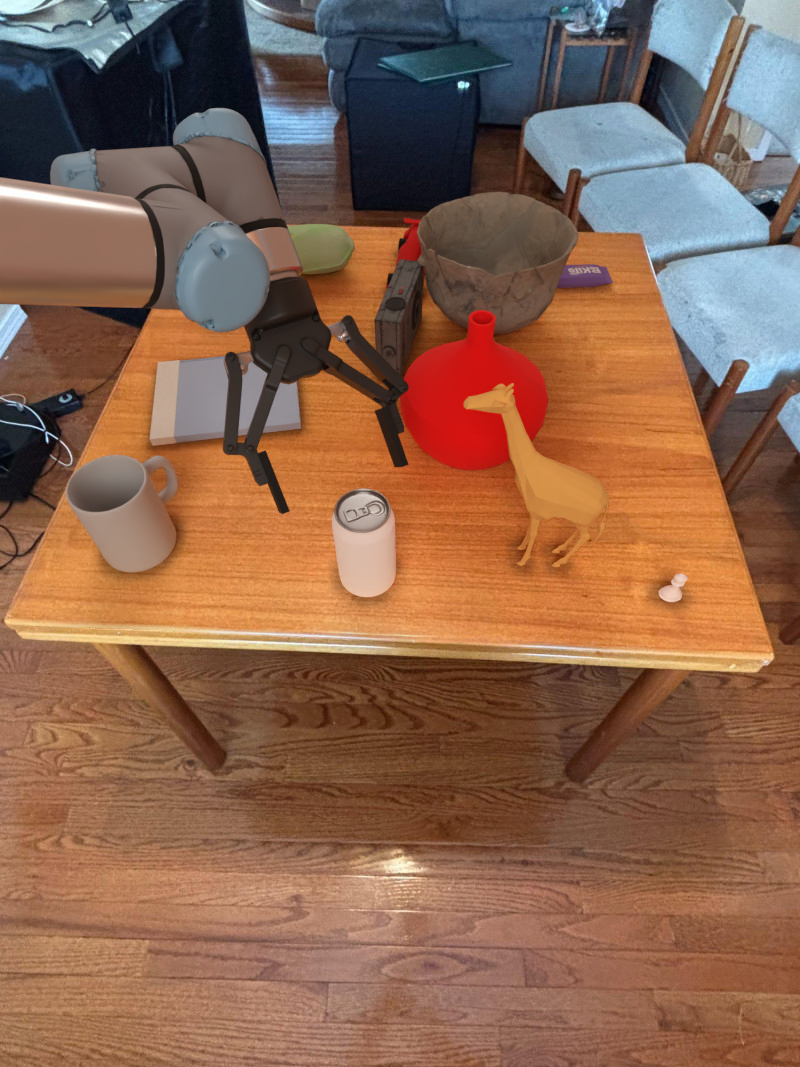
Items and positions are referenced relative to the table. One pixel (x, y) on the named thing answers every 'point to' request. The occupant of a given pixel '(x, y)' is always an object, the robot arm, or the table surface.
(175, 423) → the blue flat rectangular slab
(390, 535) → the can
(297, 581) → the table surface
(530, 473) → the giraffe
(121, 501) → the mug
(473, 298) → the bowl
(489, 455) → the vase
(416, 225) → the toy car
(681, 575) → the chess pawn
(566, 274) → the snack package
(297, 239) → the corn
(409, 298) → the camera
